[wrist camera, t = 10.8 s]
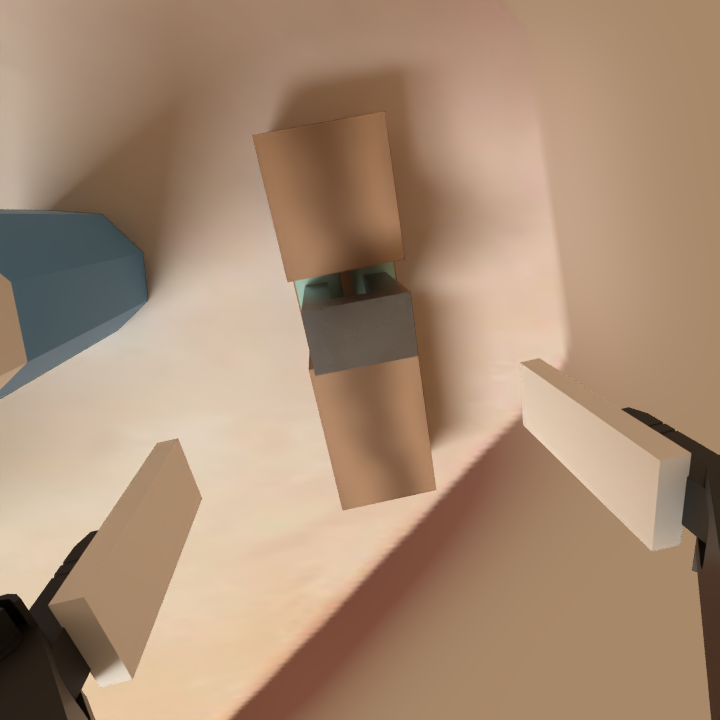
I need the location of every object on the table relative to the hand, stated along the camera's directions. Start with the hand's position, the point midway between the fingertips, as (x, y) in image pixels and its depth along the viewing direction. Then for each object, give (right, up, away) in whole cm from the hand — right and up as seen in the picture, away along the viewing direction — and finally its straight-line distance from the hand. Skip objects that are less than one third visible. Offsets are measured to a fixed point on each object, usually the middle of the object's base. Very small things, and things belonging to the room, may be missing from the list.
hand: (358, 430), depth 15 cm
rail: (0, +6, +18) cm, 19 cm away
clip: (-1, +7, +17) cm, 18 cm away
